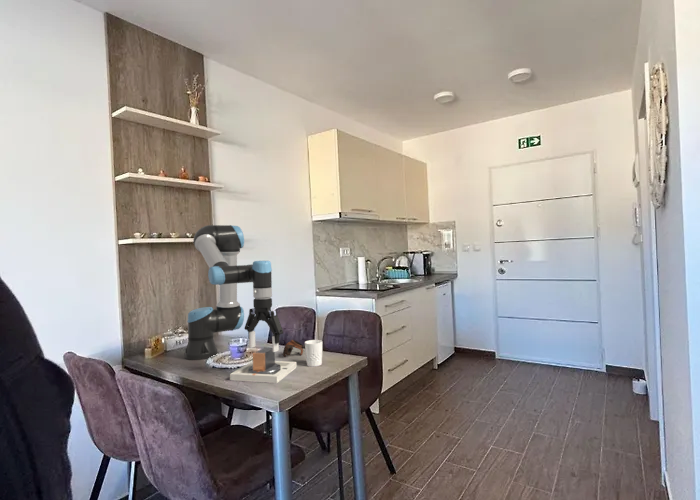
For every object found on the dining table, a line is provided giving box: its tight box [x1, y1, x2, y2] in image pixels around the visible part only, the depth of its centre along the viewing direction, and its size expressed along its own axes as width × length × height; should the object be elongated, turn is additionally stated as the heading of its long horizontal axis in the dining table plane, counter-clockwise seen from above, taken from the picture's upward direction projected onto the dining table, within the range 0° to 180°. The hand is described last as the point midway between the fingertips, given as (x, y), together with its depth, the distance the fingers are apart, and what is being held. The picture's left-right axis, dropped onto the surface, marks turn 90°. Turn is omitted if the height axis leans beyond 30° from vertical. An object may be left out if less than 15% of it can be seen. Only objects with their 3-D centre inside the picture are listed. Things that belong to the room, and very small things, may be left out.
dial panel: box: [229, 360, 297, 384], centre depth 162 cm, size 20×20×3 cm
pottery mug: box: [282, 339, 305, 357], centre depth 190 cm, size 12×10×8 cm
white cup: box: [304, 339, 323, 367], centre depth 174 cm, size 8×8×10 cm
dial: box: [248, 347, 281, 375], centre depth 162 cm, size 13×13×9 cm
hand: (263, 349), depth 163 cm, fingers open, 13 cm apart
